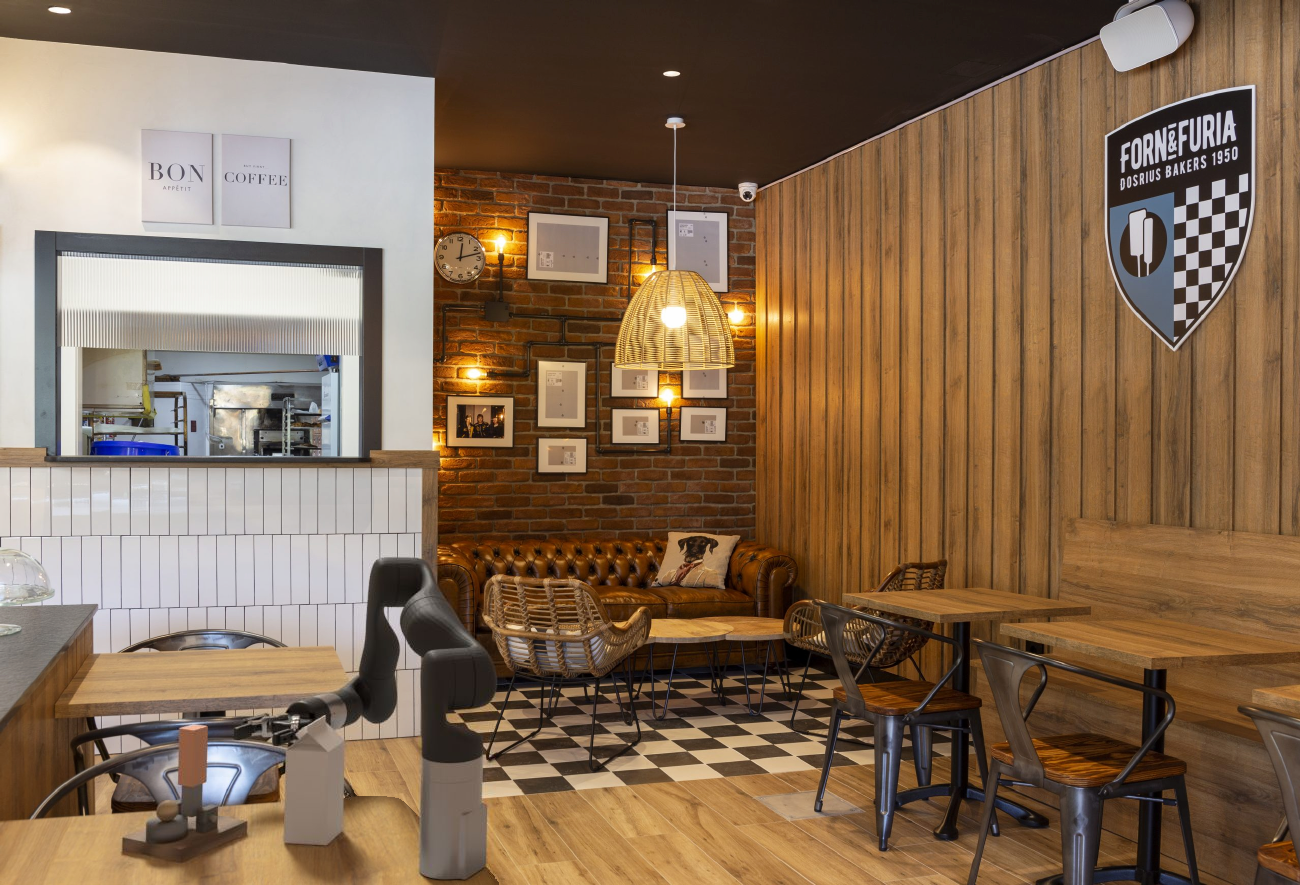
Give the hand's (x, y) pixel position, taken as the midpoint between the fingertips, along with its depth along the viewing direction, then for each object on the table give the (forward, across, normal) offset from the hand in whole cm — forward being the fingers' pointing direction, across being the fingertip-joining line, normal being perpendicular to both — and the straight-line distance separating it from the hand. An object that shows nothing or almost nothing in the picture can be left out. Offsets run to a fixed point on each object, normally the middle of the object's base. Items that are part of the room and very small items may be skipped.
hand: (254, 737), depth 188 cm
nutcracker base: (+15, 0, +13) cm, 20 cm away
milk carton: (+5, +17, +13) cm, 22 cm away
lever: (+14, 0, +9) cm, 17 cm away
